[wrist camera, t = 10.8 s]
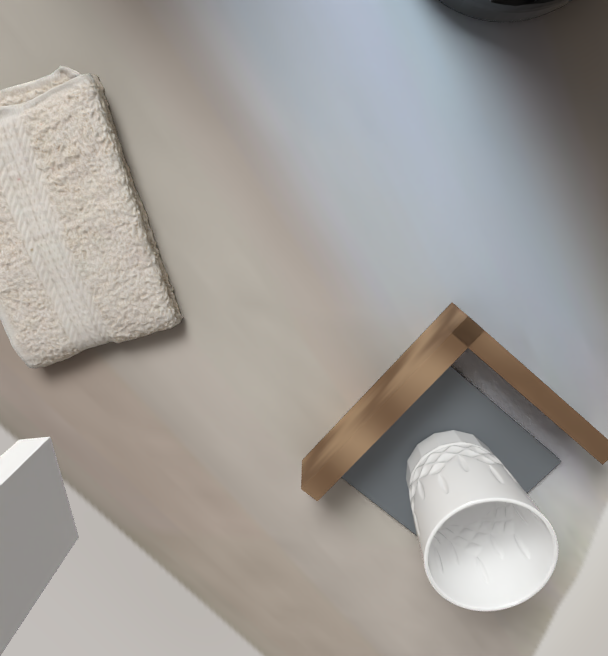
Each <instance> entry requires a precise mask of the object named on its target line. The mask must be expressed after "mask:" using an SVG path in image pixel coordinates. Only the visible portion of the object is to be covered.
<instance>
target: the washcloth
mask: <svg viewBox="0 0 608 656" xmlns="http://www.w3.org/2000/svg"><path fill="white" fill-rule="evenodd" d="M108 106H109V104H108V102H107V100H106V98H105V95H104V88H103V85H102V84H101V82H100V81H99V77H98V76H97V75H91V74H82V75H81V74H80V73H79V72H78V71H75V70H73V69H70V68H68V67H65V66H59V69H56V70H55V71H54V72H53V73H52V74H50V75H47V76H44V77H42V78H39V79H37V80H34V81H31V82H26V83H24V84H19V85H16V86H13V87H9V88H7V89H3V90H0V320H1V322H2V324H3V326H4V329H5V331H6V333H7V336H8V338H9V340H10V342H11V345H12V347H13V348H14V350H15V351H16V352H17V354H18V355H19V356H20V358H21V359H22V360H23V361H24V362H25V363H26V365H27V366H28V367H29V368H38V367H40V366H42V367H46V366H49V365H51V364H54V363H56V362H57V361H63V360H65V359H68V358H70V357H72V356H73V355H75V354H78V353H79V352H81V351H84V350H85V349H88V348H92V347H96V346H98V345H102V344H106V343H108V342H115V343H121V342H124V341H127V340H132V339H135V340H136V338H139V337H144V336H147V335H150V334H152V333H154V332H157V331H163V330H166V329H171V328H173V327H175V326H176V325H178V324H179V323H180V322H181V319H182V318H184V317H183V316H182V315H181V314H180V309H179V308H178V303H177V302H176V300H175V295H174V293H173V289H174V287H172V286H171V285H170V283H169V281H168V278H169V277H168V274H167V273H166V271H165V269H164V266H163V264H162V260H161V258H160V255H159V251H158V248H157V247H156V242H155V240H154V236H153V231H152V229H151V228H150V226H149V223H148V216H147V215H146V211H145V210H144V207H143V204H142V202H141V200H140V196H139V195H138V193H137V191H136V189H135V188H134V184H133V183H134V182H133V179H132V176H131V174H130V168H129V167H128V165H127V163H126V161H125V159H124V154H123V151H122V146H121V143H120V142H119V140H118V138H117V131H116V129H115V125H114V123H113V119H112V117H111V113H110V111H109V108H108Z"/></svg>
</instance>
